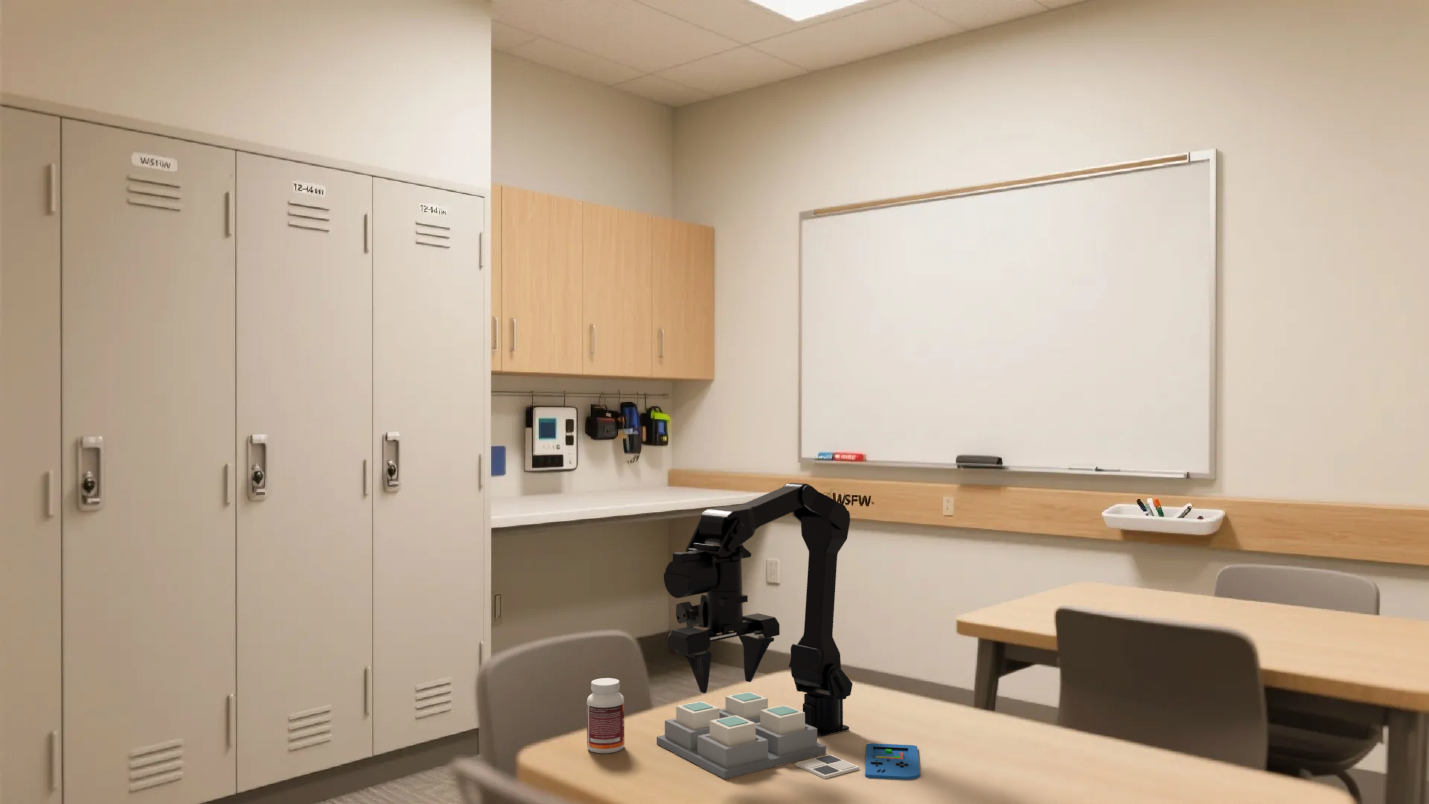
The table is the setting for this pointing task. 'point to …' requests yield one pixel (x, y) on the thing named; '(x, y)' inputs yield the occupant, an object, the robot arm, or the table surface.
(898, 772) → the handheld gaming device
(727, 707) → the button
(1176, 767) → the table surface
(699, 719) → the button
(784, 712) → the button
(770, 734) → the console
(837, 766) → the card
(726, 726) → the button
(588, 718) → the pill bottle
